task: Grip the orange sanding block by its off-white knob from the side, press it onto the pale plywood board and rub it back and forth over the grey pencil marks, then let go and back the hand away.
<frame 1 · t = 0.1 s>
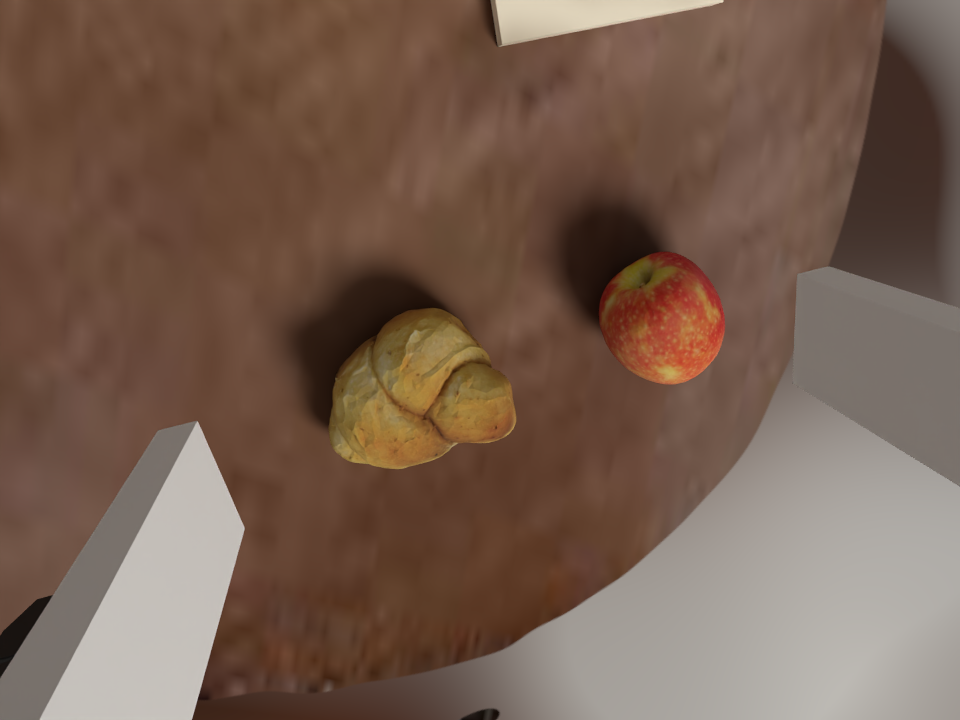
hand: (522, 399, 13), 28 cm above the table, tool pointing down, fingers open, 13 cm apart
apple: (635, 304, 44), on the table
bread roll: (402, 375, 42), on the table
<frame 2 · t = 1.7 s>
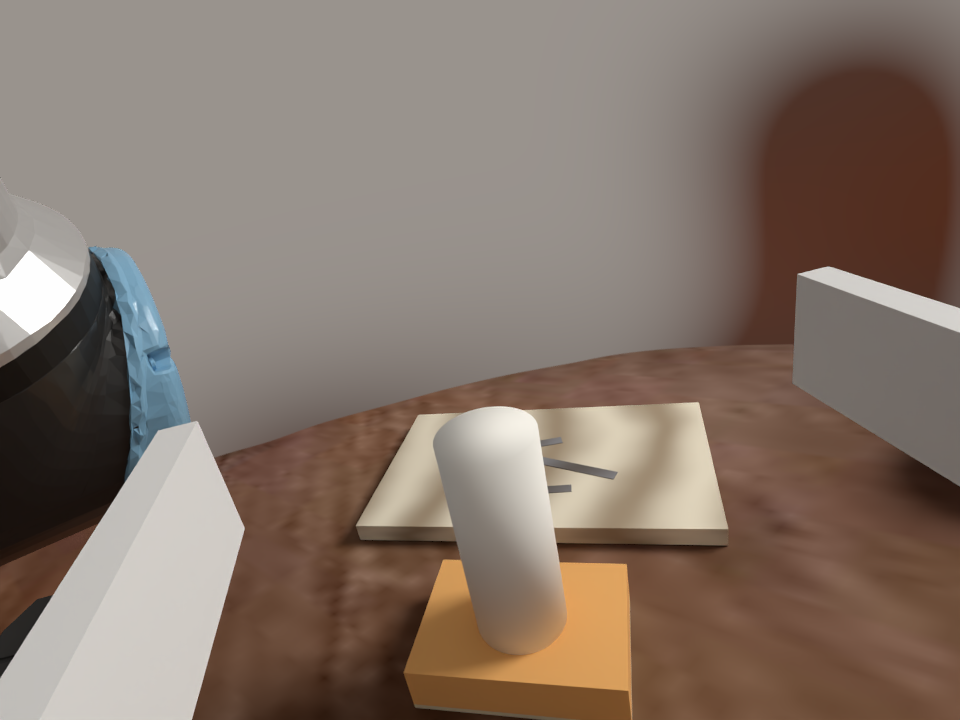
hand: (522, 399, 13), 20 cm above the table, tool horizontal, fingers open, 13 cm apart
sanding block: (528, 650, 30), on the table
plywood board: (541, 473, 42), on the table
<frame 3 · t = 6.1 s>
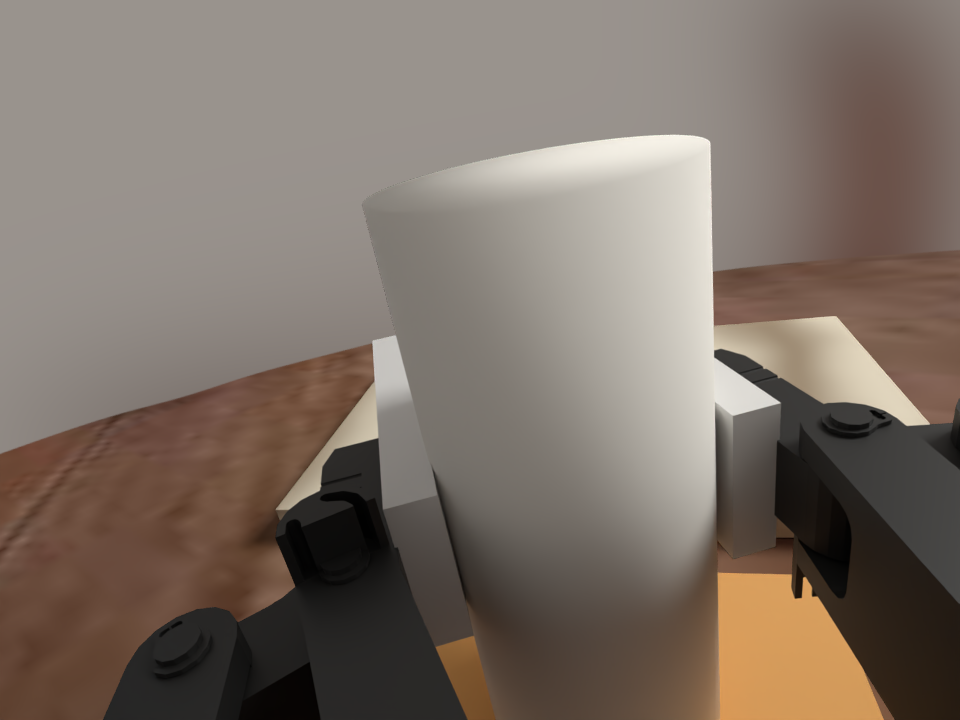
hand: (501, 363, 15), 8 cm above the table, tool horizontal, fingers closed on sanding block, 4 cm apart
plywood board: (592, 424, 26), on the table
when the fingers open (9 cm above the table, at t = 15.7 s): sanding block stays where it is, resting on plywood board.
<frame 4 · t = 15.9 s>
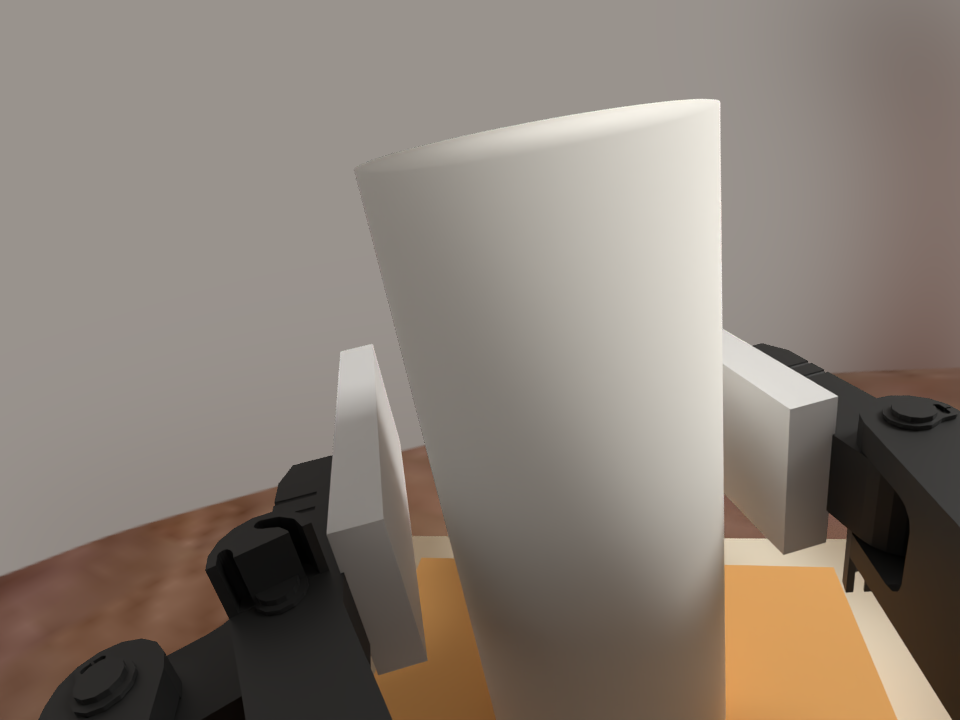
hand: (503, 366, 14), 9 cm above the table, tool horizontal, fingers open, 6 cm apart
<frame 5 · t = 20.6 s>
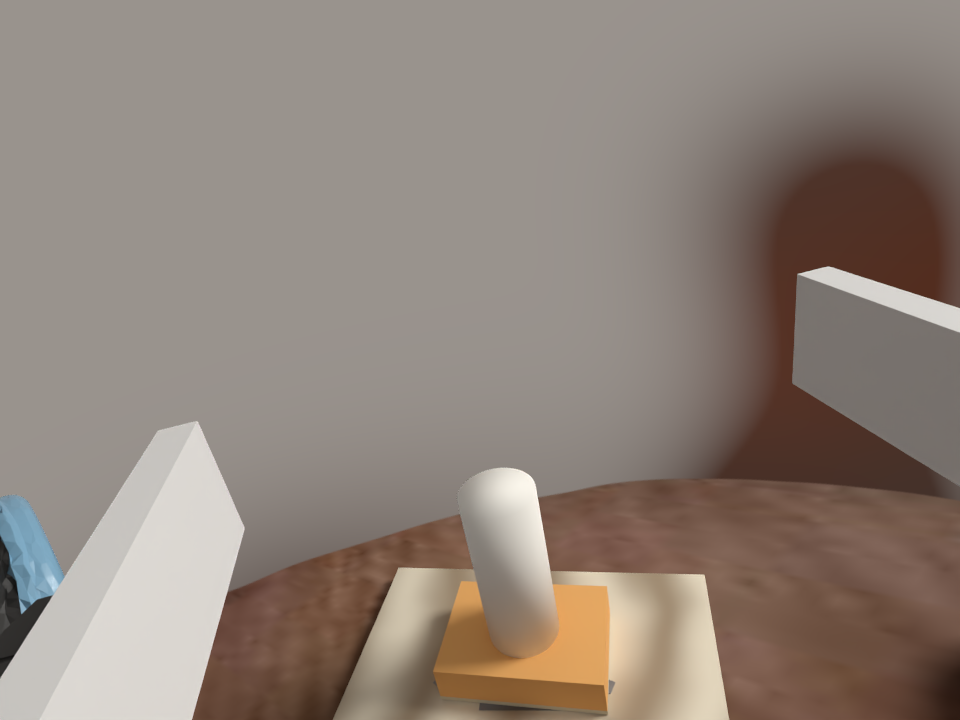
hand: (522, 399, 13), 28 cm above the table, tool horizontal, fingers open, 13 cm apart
sanding block: (529, 654, 38), point 1 cm above the table, touching plywood board
plywood board: (531, 665, 38), on the table
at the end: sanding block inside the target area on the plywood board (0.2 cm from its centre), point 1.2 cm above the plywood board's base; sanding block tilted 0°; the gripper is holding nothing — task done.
